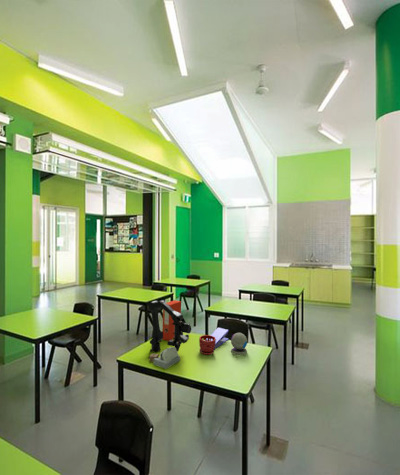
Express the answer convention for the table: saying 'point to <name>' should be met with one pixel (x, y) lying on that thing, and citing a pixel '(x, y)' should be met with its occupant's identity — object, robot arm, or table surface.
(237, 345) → the webcam
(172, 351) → the hinge
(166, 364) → the channel jig
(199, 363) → the table surface
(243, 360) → the table surface
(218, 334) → the stapler
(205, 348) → the plant pot
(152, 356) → the spacer block
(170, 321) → the file binder
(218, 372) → the table surface
